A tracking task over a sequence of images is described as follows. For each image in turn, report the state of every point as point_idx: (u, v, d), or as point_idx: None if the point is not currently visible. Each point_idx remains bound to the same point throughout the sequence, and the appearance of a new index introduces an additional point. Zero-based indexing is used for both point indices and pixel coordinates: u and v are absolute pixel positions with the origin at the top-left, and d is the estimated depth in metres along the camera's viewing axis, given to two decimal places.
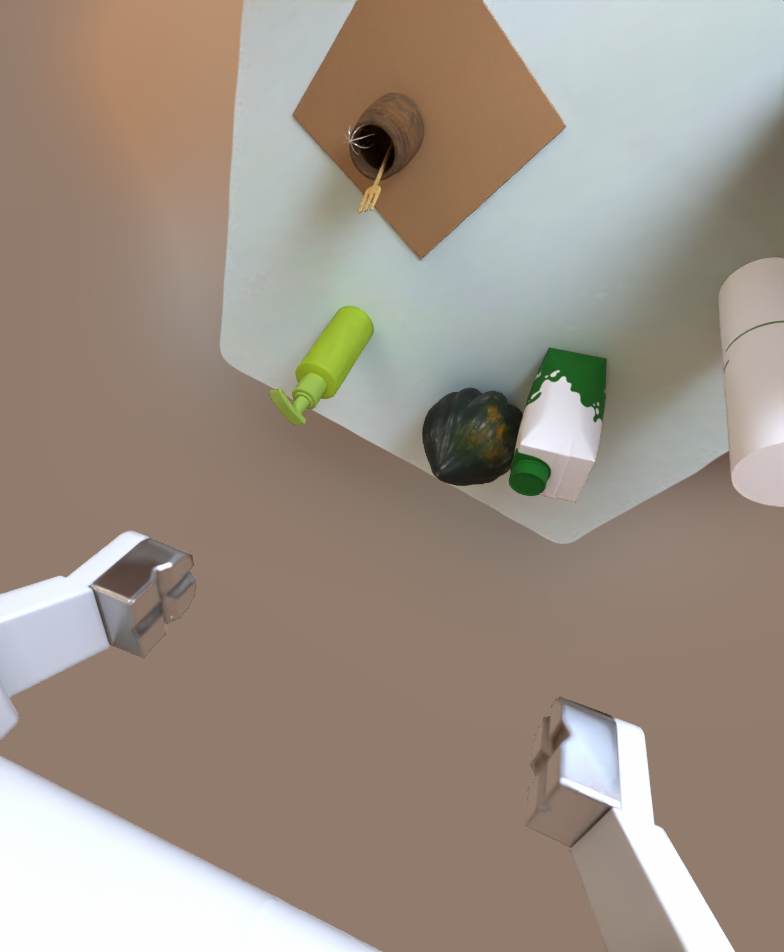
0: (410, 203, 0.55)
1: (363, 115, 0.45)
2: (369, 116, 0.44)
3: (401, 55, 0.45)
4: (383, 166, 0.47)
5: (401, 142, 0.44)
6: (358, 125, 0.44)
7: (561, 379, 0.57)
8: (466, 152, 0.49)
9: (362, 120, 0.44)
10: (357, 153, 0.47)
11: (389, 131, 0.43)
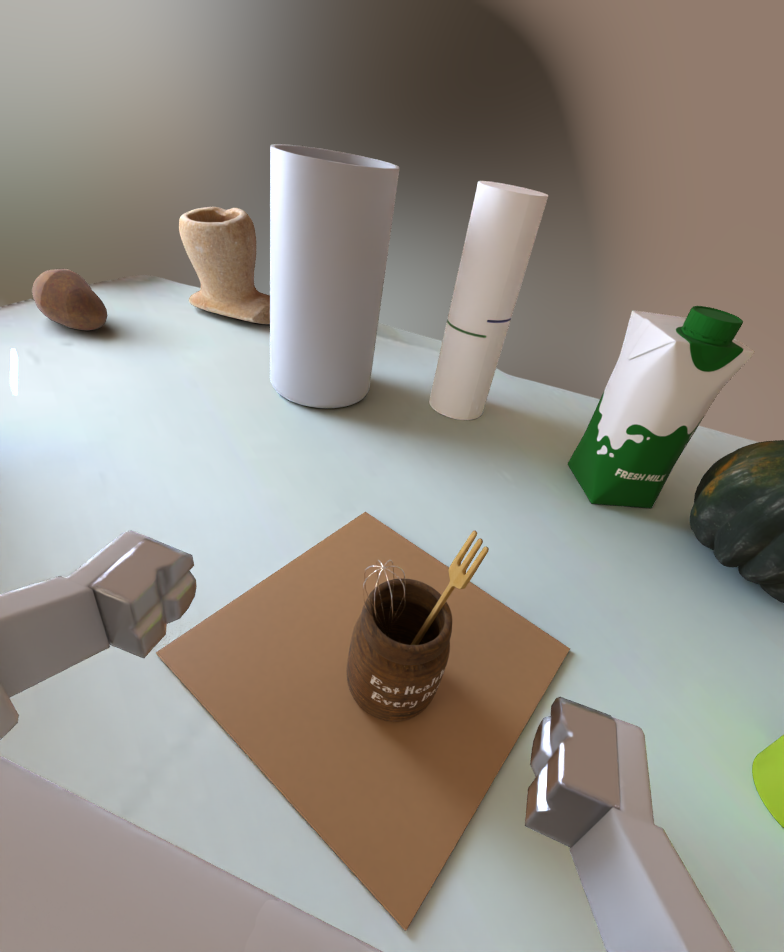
0: (492, 663, 0.34)
1: (367, 657, 0.27)
2: (362, 623, 0.27)
3: (304, 672, 0.31)
4: (430, 613, 0.28)
5: None
6: (375, 631, 0.26)
7: (601, 436, 0.48)
8: None
9: (368, 628, 0.26)
10: None
11: (377, 587, 0.28)
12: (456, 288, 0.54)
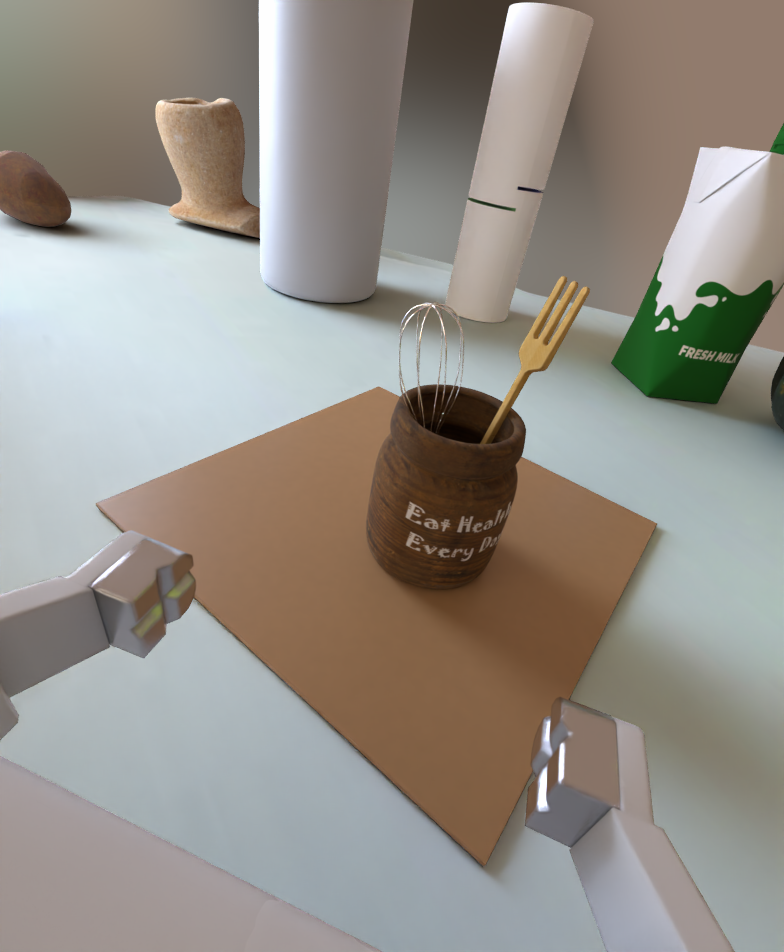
0: (560, 534, 0.25)
1: (401, 475, 0.18)
2: (394, 427, 0.18)
3: (305, 533, 0.22)
4: (488, 427, 0.20)
5: None
6: (415, 426, 0.17)
7: (660, 309, 0.40)
8: None
9: (404, 426, 0.17)
10: None
11: (412, 389, 0.20)
12: (479, 153, 0.46)
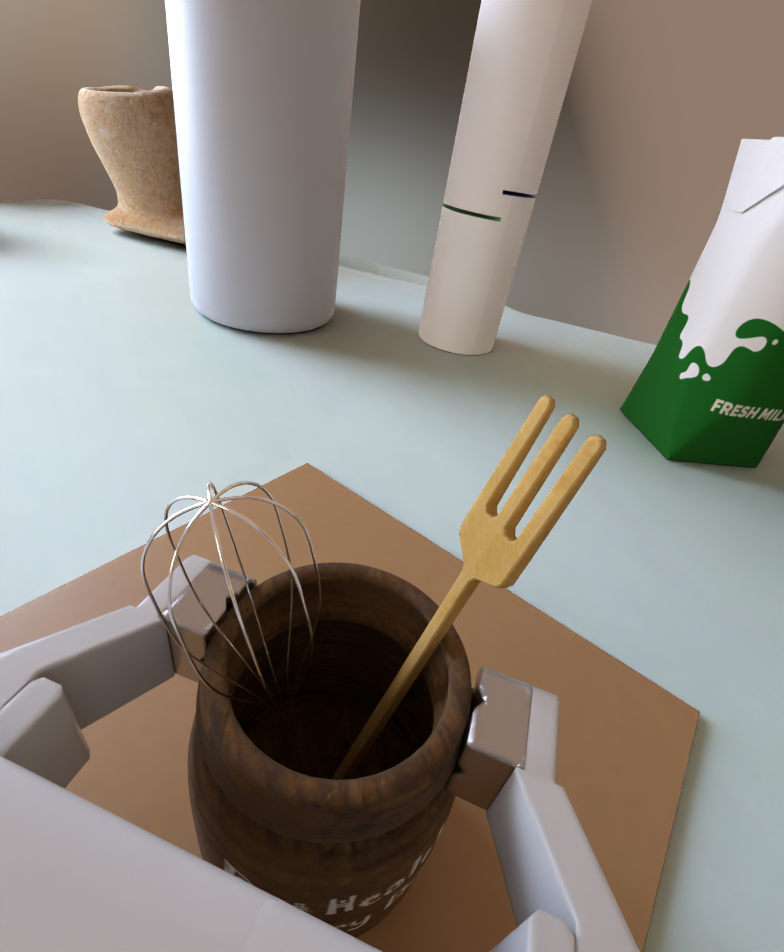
0: None
1: (209, 801, 0.09)
2: (197, 697, 0.09)
3: (102, 798, 0.13)
4: (408, 656, 0.10)
5: None
6: (219, 729, 0.08)
7: (687, 350, 0.31)
8: None
9: (202, 717, 0.08)
10: None
11: (260, 584, 0.10)
12: (455, 148, 0.37)
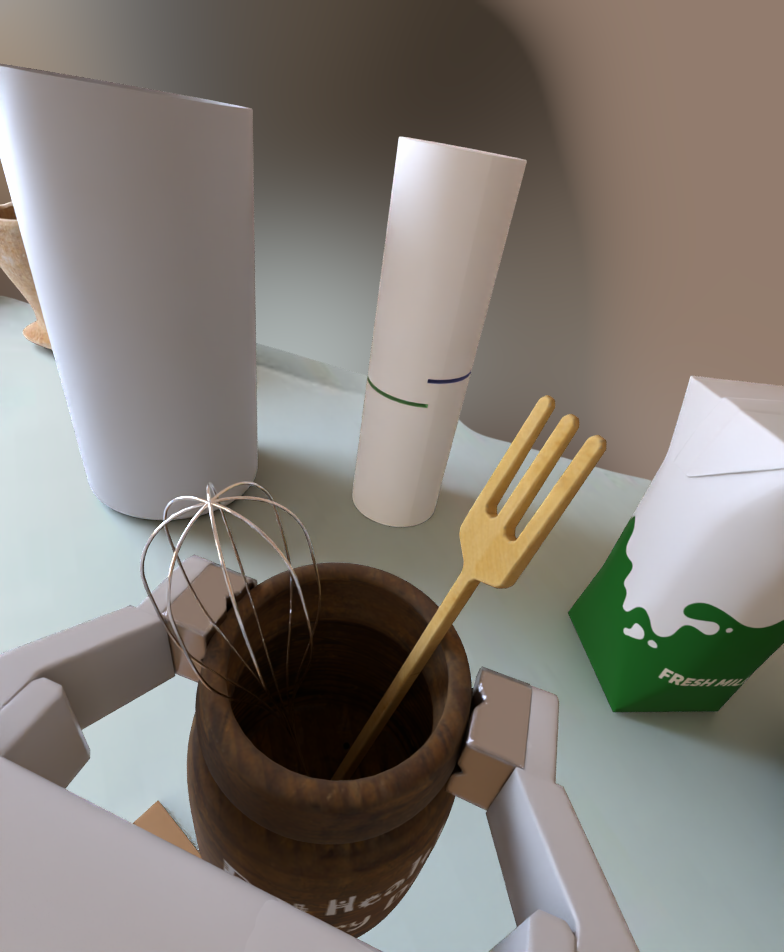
0: None
1: (209, 802, 0.09)
2: (196, 697, 0.09)
3: None
4: (408, 657, 0.10)
5: None
6: (218, 730, 0.08)
7: (631, 605, 0.26)
8: None
9: (202, 717, 0.08)
10: None
11: (261, 584, 0.10)
12: (375, 326, 0.32)
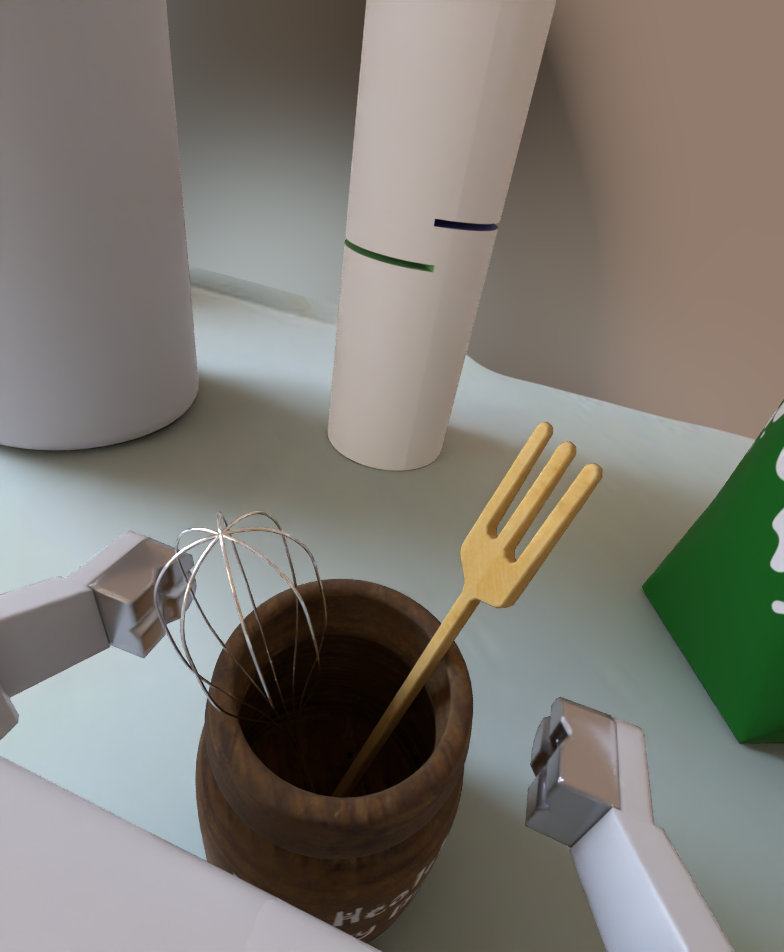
0: None
1: (218, 817, 0.09)
2: (205, 715, 0.09)
3: None
4: (410, 672, 0.11)
5: None
6: (228, 749, 0.08)
7: None
8: None
9: (212, 736, 0.08)
10: None
11: (266, 602, 0.10)
12: (354, 144, 0.21)
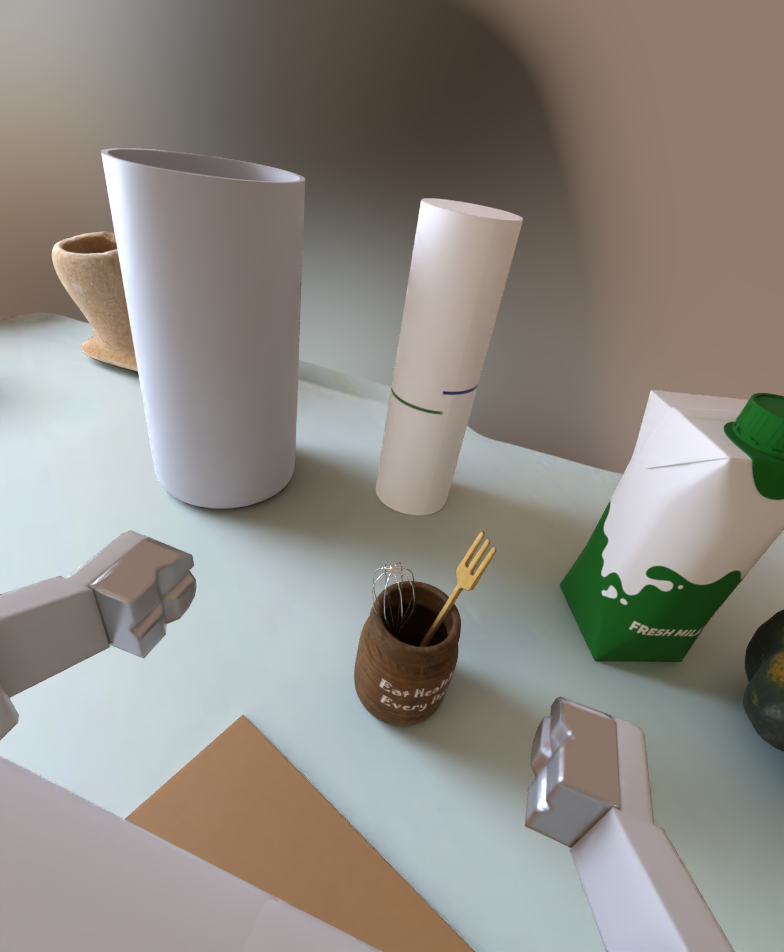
0: None
1: (376, 660, 0.27)
2: (371, 626, 0.27)
3: None
4: (438, 615, 0.28)
5: None
6: (384, 633, 0.26)
7: (607, 571, 0.33)
8: None
9: (377, 631, 0.26)
10: None
11: (385, 590, 0.28)
12: (399, 347, 0.39)
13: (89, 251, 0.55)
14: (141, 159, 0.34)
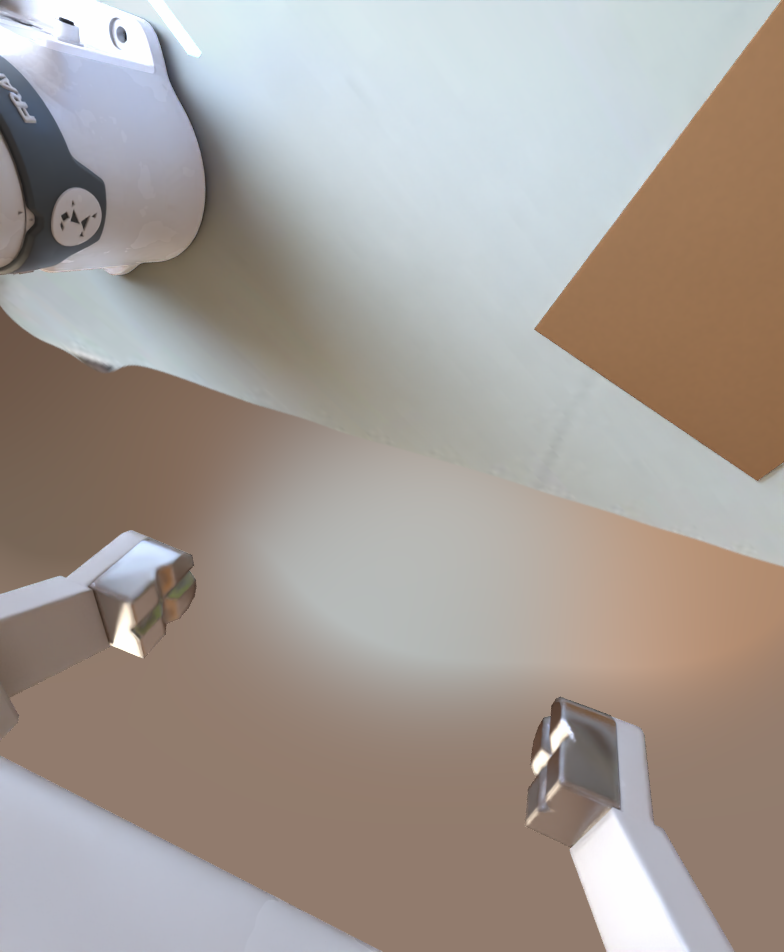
0: None
1: None
2: None
3: (679, 325, 0.32)
4: None
5: None
6: None
7: None
8: None
9: None
10: None
11: None
12: None
13: None
14: None
